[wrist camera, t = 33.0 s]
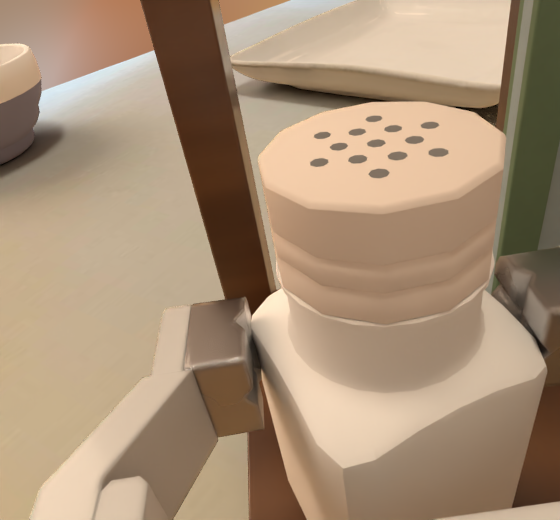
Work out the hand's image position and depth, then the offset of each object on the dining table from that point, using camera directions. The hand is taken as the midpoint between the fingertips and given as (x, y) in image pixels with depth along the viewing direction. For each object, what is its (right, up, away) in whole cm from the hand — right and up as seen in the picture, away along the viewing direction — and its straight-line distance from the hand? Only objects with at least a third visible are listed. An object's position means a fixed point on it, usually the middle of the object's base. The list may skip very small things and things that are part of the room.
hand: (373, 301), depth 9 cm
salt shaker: (+1, -5, +3) cm, 6 cm away
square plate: (+12, +20, +38) cm, 45 cm away
